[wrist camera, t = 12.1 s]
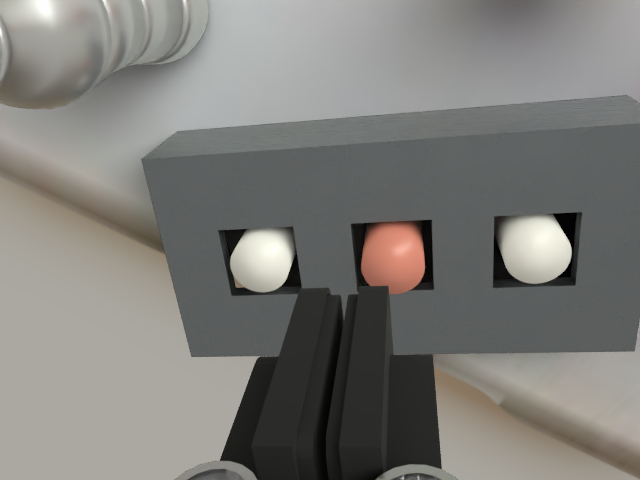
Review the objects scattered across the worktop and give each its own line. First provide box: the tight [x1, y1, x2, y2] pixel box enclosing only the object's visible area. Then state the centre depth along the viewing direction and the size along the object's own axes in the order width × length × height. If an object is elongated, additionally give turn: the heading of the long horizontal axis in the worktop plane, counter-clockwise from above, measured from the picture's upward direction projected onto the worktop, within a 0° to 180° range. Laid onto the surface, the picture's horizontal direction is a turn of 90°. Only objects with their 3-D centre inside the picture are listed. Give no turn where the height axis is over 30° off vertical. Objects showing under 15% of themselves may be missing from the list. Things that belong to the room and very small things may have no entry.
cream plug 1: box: [230, 227, 297, 292], centre depth 37 cm, size 4×4×6 cm
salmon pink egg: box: [361, 220, 425, 294], centre depth 35 cm, size 4×4×6 cm
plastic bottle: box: [0, 0, 209, 109], centre depth 26 cm, size 6×7×20 cm
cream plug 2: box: [494, 214, 572, 284], centre depth 35 cm, size 4×4×6 cm
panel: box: [141, 95, 640, 357], centre depth 36 cm, size 28×14×6 cm, turn 96°
